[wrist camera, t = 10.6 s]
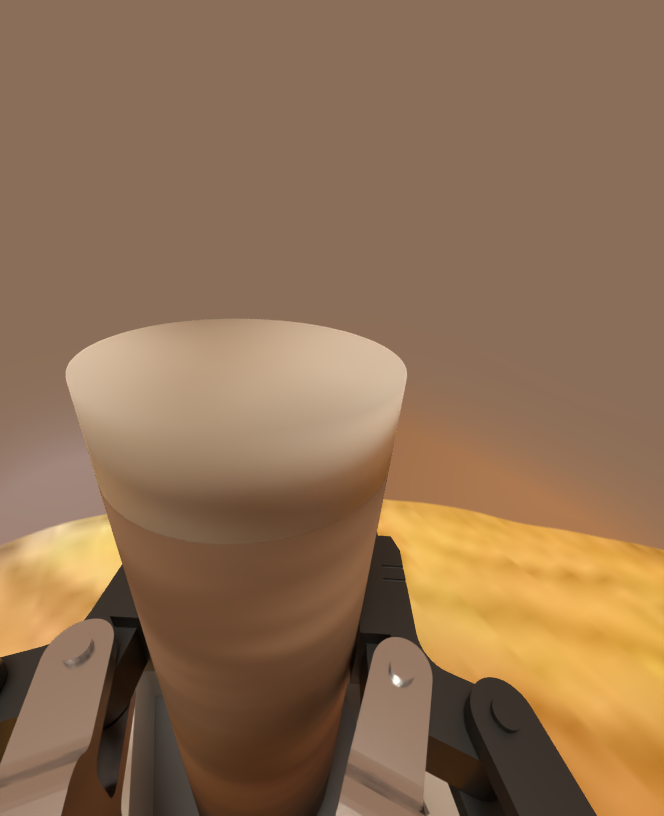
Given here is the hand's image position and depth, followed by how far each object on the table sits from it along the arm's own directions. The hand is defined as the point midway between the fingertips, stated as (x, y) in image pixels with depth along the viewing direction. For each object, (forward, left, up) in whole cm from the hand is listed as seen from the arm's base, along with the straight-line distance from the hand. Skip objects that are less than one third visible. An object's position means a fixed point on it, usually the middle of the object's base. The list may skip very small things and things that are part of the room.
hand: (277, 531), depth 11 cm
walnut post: (+1, +2, -9) cm, 9 cm away
